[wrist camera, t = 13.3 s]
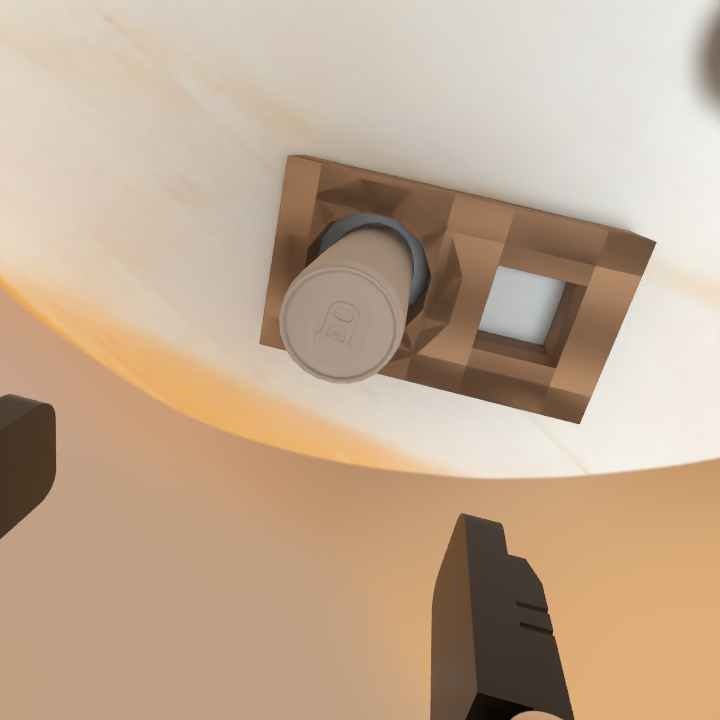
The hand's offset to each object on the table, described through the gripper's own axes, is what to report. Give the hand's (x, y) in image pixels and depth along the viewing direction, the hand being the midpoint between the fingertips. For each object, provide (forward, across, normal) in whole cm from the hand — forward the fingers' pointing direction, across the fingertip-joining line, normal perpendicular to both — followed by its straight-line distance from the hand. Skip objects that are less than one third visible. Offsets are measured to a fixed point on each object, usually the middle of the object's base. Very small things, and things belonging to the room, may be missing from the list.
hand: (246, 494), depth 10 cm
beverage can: (+23, 0, 0) cm, 23 cm away
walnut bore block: (+22, -4, 0) cm, 23 cm away
